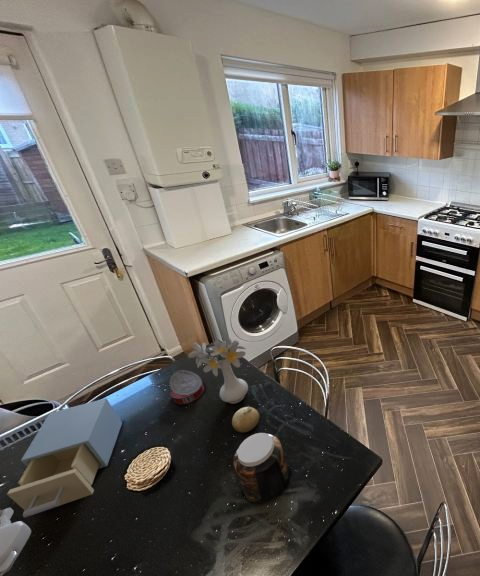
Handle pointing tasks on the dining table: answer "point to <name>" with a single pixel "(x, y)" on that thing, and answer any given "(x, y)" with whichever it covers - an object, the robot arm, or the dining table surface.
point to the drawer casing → (78, 431)
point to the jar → (261, 467)
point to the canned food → (185, 386)
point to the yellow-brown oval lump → (245, 419)
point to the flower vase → (223, 367)
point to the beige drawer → (56, 480)
